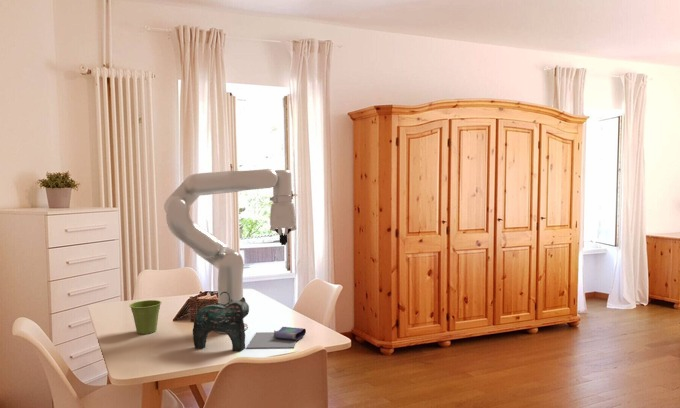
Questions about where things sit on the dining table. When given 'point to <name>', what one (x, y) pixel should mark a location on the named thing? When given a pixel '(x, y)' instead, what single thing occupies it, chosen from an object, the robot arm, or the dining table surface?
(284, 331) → the flask
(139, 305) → the plant pot
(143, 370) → the dining table surface
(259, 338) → the mat
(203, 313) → the ceramic cat
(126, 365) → the dining table surface
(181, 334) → the dining table surface
